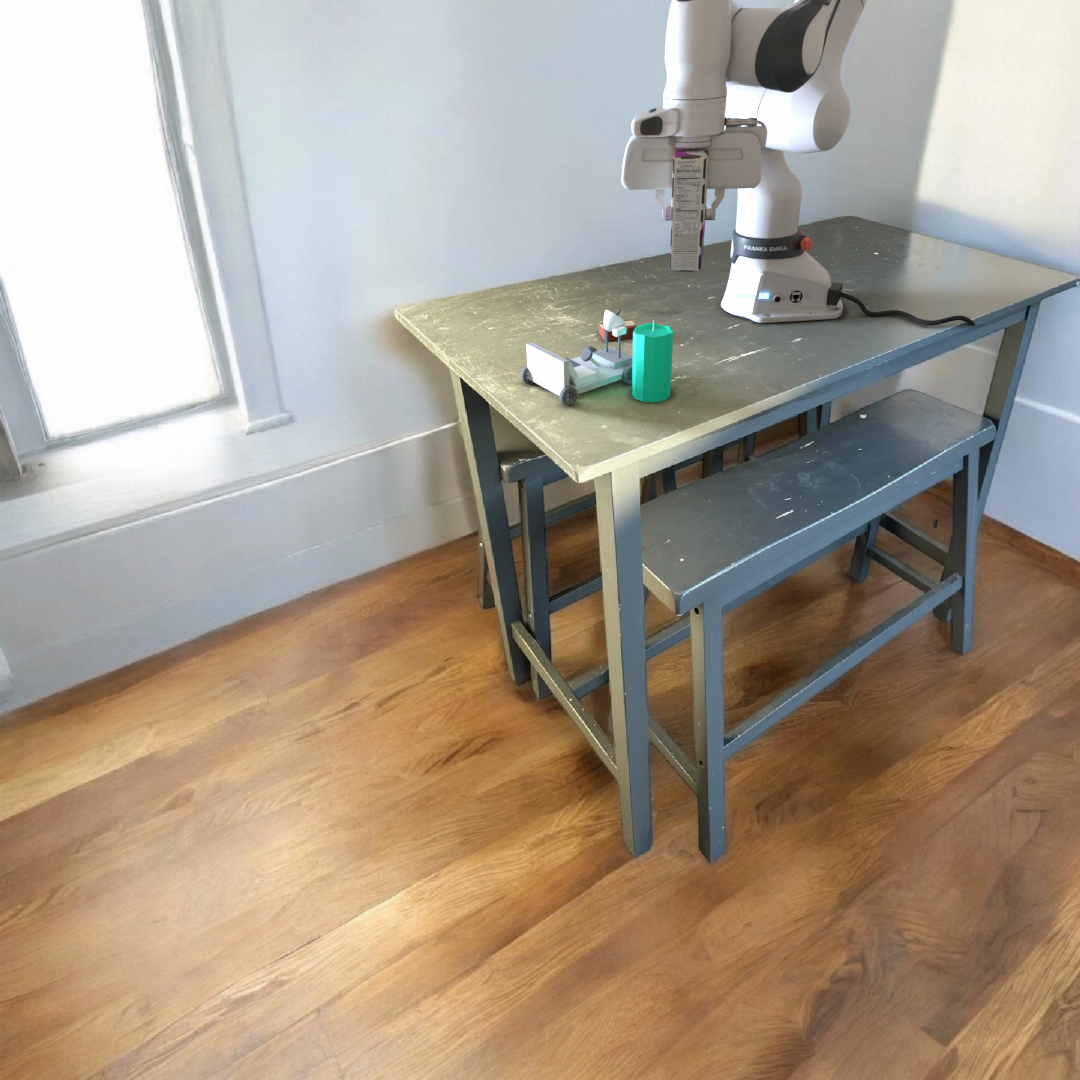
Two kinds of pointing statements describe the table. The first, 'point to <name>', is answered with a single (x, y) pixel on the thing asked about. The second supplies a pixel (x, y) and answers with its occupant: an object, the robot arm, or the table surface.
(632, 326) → the matchbox
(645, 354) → the candle
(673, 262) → the candy bar box
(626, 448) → the table surface
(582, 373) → the toy car
